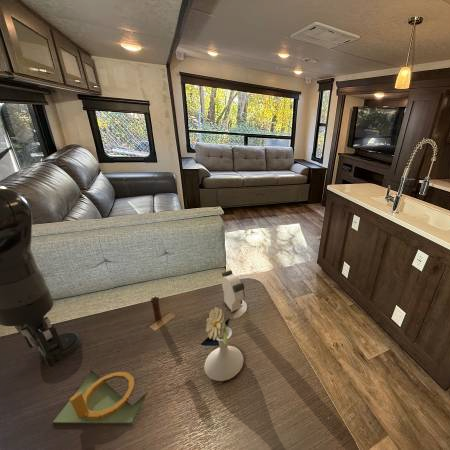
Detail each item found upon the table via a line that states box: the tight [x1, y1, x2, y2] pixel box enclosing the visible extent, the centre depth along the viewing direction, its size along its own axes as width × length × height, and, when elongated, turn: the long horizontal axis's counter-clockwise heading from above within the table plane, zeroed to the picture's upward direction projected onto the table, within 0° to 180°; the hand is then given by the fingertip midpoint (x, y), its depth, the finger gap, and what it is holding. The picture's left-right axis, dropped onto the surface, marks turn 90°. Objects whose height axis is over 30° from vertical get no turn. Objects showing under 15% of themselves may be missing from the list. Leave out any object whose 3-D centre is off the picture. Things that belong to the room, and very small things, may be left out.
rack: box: [147, 295, 176, 332], centre depth 87 cm, size 8×8×11 cm
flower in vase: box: [204, 307, 244, 382], centre depth 70 cm, size 13×11×25 cm
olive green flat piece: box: [52, 370, 149, 424], centre depth 65 cm, size 18×13×1 cm
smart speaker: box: [38, 331, 82, 363], centre depth 74 cm, size 9×9×4 cm
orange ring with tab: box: [68, 371, 135, 420], centre depth 63 cm, size 11×12×8 cm
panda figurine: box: [221, 269, 248, 320], centre depth 95 cm, size 12×11×15 cm
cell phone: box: [200, 317, 231, 347], centre depth 88 cm, size 7×14×1 cm, turn 3°
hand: (45, 353), depth 53 cm, fingers open, 8 cm apart
